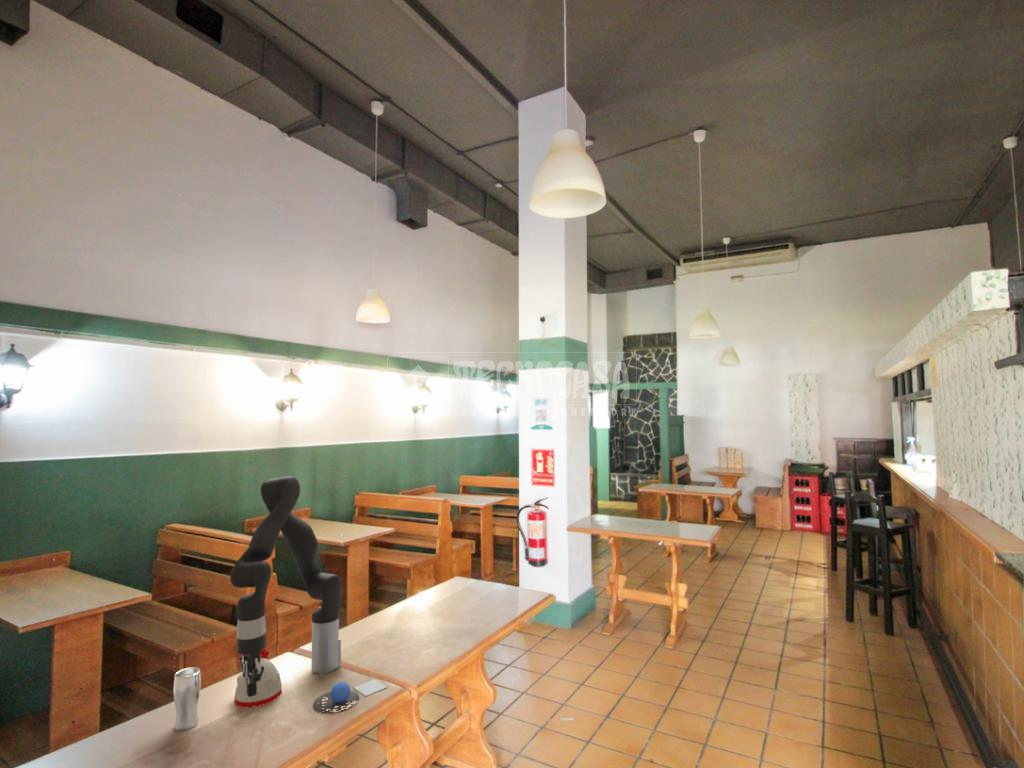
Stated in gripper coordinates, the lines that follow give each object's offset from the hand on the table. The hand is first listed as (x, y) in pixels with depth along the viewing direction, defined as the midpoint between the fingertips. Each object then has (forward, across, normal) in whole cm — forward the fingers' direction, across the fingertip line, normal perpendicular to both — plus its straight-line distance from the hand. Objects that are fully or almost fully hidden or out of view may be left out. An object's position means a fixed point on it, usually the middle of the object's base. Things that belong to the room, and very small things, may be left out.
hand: (251, 695), depth 152 cm
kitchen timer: (+12, +22, -10) cm, 27 cm away
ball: (+9, -2, -26) cm, 28 cm away
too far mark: (+12, 0, -37) cm, 39 cm away
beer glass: (+11, +20, +11) cm, 26 cm away
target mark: (+12, 0, -25) cm, 28 cm away
